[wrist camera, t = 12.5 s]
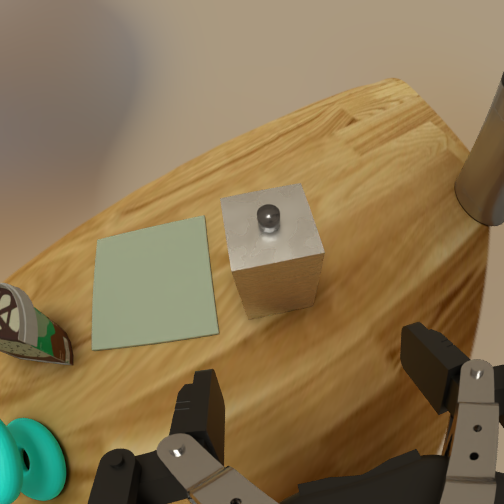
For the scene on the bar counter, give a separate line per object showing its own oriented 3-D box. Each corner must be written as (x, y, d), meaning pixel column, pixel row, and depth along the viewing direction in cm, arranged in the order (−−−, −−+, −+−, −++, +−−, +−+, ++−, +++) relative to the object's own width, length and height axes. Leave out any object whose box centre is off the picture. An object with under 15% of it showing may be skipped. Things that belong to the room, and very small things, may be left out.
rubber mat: (204, 217, 37) (204, 215, 37) (219, 334, 30) (218, 333, 30) (98, 241, 37) (97, 239, 37) (93, 350, 30) (91, 349, 30)
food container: (89, 313, 32) (35, 274, 24) (83, 366, 29) (22, 340, 20) (19, 313, 33) (-33, 279, 24) (11, 357, 30) (-45, 331, 21)
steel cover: (297, 250, 34) (301, 172, 24) (313, 306, 30) (326, 243, 20) (238, 262, 34) (217, 188, 24) (248, 319, 30) (228, 263, 20)
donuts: (-49, 397, 17) (4, 417, 17) (11, 413, 26) (69, 426, 26) (-45, 485, 12) (13, 521, 12) (15, 485, 21) (75, 509, 21)
